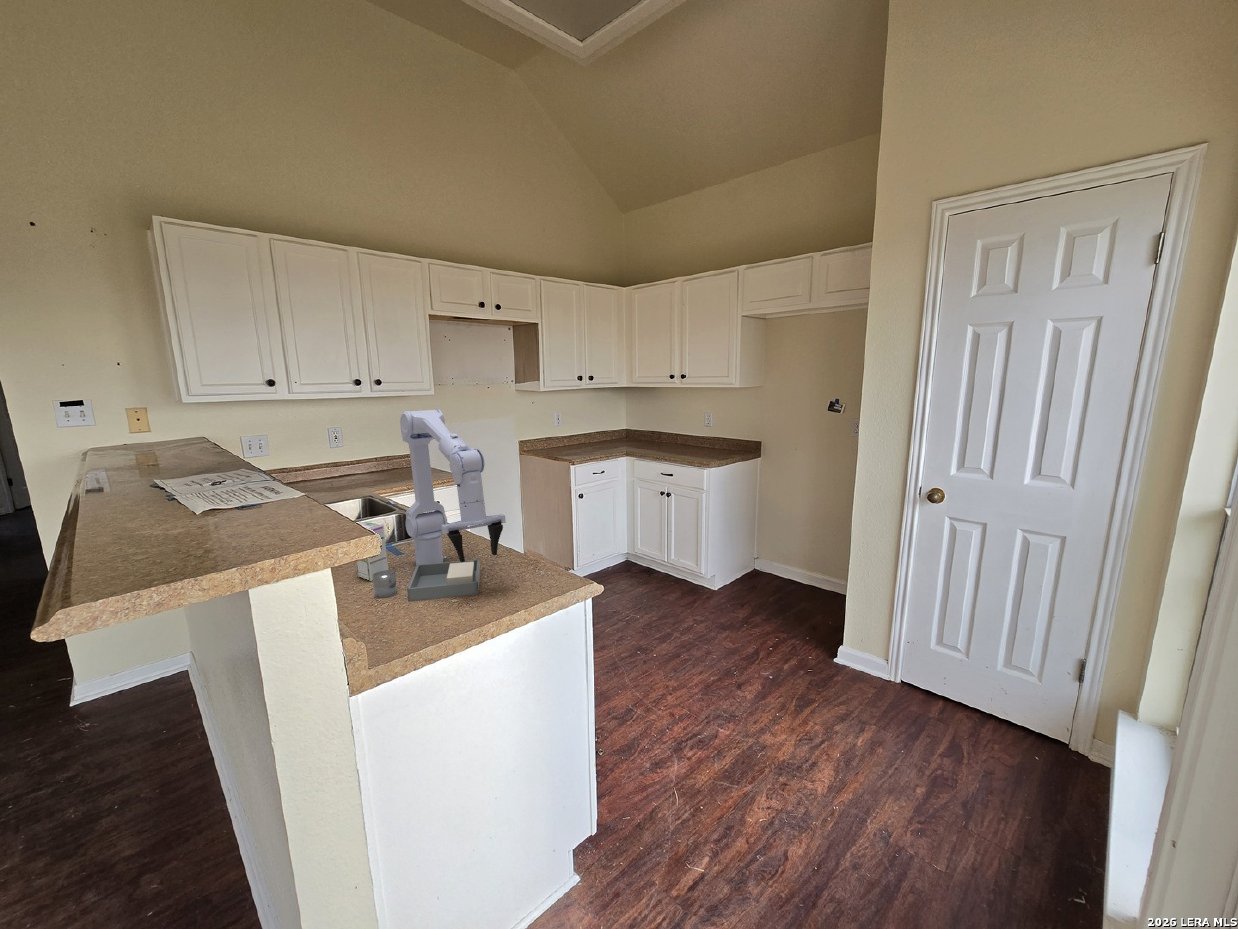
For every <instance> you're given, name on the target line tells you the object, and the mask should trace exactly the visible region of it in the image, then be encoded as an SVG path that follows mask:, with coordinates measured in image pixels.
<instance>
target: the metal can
mask: <svg viewBox="0 0 1238 929" xmlns="http://www.w3.org/2000/svg"><path fill="white" fill-rule="evenodd" d="M372 582H373V594H374V597H375V598H377V599H386V598H391V597H394V596H395V595H396V594H397V593H398V588H397V577H396V571H395V570H390V569H388V570H385V571H380V572H377V573H375V574H373V581H372Z"/></svg>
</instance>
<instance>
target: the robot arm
mask: <svg viewBox="0 0 1238 929" xmlns="http://www.w3.org/2000/svg"><path fill="white" fill-rule="evenodd" d="M399 425H400V434H401V438H402V441H403V443H404V442H405V443H407V445H408V449H409V457H410V464H411V466H410V467H411V472H412V473H411V474H412V482H413V483H412V484H413V491H414V492H413V493H414V503H413V504H412V505H411V506H410V507H408V509H407V510H406V511H405V530H406V532H407V534H408V536H410V537H411V538H412V539H413V544H414V558H415V567H416V566H417V565H420V564H431V563H443V562H444V559H446V558H447V556H445V555H443V554H444V553H443V542H442V541H443V540H442V535H447V537H448V538H449V540H450V542H451V543H452V544H453V547H454V548H455V551H456V553H457V556H458V561H460V562H465V560H466V559H465V553H464V549H463V547H464V546H463V534H462V533H461V531H465V530H466V531H467V530H470V529H475V528H482V527H486V526H487V529H488V534H489V539H490V540H489V542H490V549H491V550H490V552H491V555H493V556H497V555H498V546H499V542H500V538H501V535H502V531H503V528H504V525H503V524H505V523H507V521H506V514H503V513H500V514H495V515H494V514H493V515H486V513H487V512H486V504H485V497H484V488H483V478H482V473H483V471H484V470H485V459H484V455H483V453H482V451H481V450H480V449H479V448H471V447H470V446H468V444H467V443H466V442H465V441H464V439H463V438H461V437H460V435H459V434H457V433H453V432H452V433H451V431H450V430H449V428H448V427H447V426H446V420H445V415H444V413H443V412H442V411H441V409H439V408H438V409H437V408H436V409H428V410H427V409H426V410H424V409H423V410H413V411H412V410H410V411H409V410H405V411H403V412H402V414H401V416H400V420H399ZM432 440H435V441H436V442H438V450H439V451H440V453H441V454H442V455H443V456H444V458H445V459H446V460H447V461H448V462H449V464H448V466H449V470H450V472H451V475H452V478H453V482H454V484H456V490H457V497H458V499H457V500H458V506H459V512H460V513H459V514H460V520H458V521H453V522H449V523H448V517H447V515H446V511H445V507H444V505H443V504H441V503H439V502H437V501H436V500H435V494H434V484H433V477H432V467H431V459H430V449H429V444H430V442H431V441H432Z"/></svg>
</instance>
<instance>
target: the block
mask: <svg viewBox="0 0 1238 929" xmlns="http://www.w3.org/2000/svg"><path fill="white" fill-rule="evenodd" d="M474 576H475V573H474V562H463V563H451V564H450V566H449V570H448V575H447V584H456V583H466V582H474Z"/></svg>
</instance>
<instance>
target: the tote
mask: <svg viewBox="0 0 1238 929" xmlns="http://www.w3.org/2000/svg"><path fill="white" fill-rule="evenodd" d="M465 562H474V573H475V576H474V582H466V583H456V584H447V575H448V570H449V566H450V564H451V563H463V562H460V560H456V561H454V560H453V561H445V562H444V561H443V563H431V564H420V565H417V566H416V565H415V568H414V571H413V573H412V576H411V578H410V580H409V583H408V587H407V589H406V590H407V591H406V592H407V601H408V602H415V601H427V600H435V599H444V598H445V599H446V598H455V597H465V596H466V597H467V596H474V595H475V596H476V595H480V580H481V559H480V558H478V559H467V560H466V559H465Z"/></svg>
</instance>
